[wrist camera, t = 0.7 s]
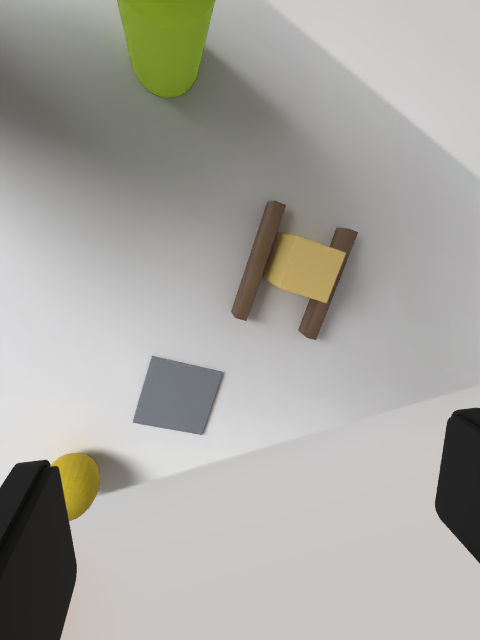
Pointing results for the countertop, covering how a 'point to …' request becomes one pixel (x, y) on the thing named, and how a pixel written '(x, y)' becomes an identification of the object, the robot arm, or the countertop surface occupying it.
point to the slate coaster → (177, 396)
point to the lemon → (78, 482)
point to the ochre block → (303, 266)
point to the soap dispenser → (166, 41)
